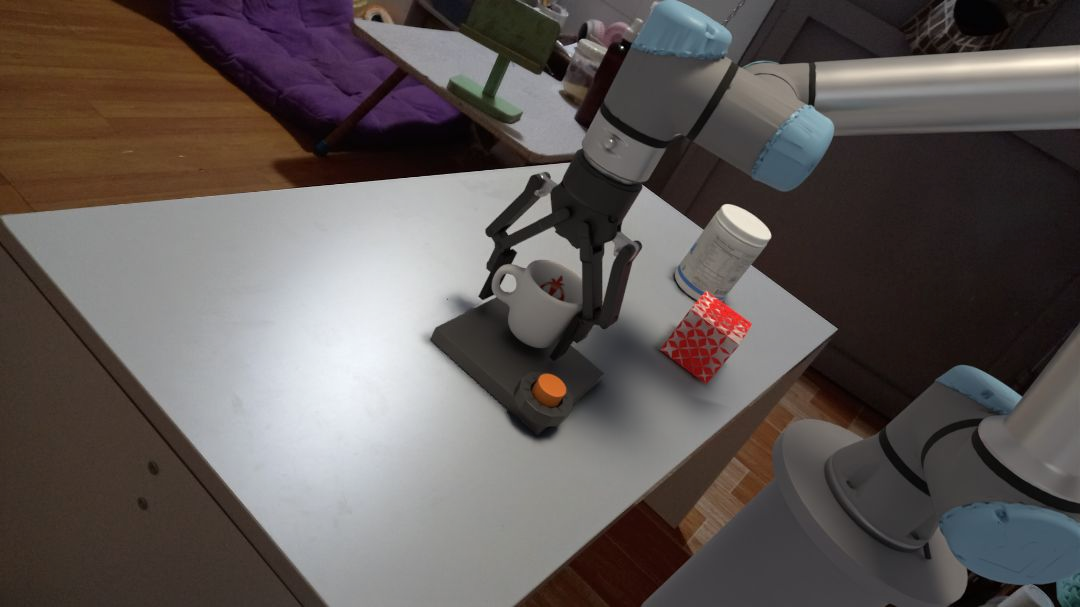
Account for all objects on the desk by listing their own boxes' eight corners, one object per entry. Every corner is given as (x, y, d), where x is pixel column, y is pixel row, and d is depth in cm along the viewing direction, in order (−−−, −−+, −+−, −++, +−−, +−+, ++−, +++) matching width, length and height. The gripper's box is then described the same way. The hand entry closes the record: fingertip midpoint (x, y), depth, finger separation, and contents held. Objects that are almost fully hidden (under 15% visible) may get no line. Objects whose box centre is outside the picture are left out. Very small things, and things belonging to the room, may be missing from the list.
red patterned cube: (677, 329, 97) (706, 290, 93) (720, 361, 96) (752, 323, 91) (659, 349, 91) (690, 309, 87) (706, 385, 89) (739, 345, 85)
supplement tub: (678, 263, 116) (725, 196, 108) (724, 293, 115) (775, 227, 107) (667, 284, 108) (717, 212, 100) (715, 315, 107) (770, 246, 99)
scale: (603, 389, 78) (617, 369, 76) (539, 447, 66) (554, 425, 64) (501, 302, 83) (512, 282, 81) (423, 342, 71) (434, 319, 69)
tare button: (564, 399, 69) (571, 388, 68) (549, 412, 66) (556, 401, 65) (541, 380, 70) (548, 369, 69) (526, 392, 67) (533, 380, 66)
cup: (468, 321, 72) (495, 267, 68) (490, 288, 79) (516, 237, 75) (552, 367, 73) (584, 316, 68) (566, 331, 79) (597, 282, 75)
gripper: (506, 104, 64) (431, 273, 76) (693, 242, 58) (581, 402, 70) (544, 101, 70) (470, 258, 82) (718, 225, 64) (611, 375, 76)
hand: (521, 324), depth 76 cm, fingers closed on cup, 10 cm apart
